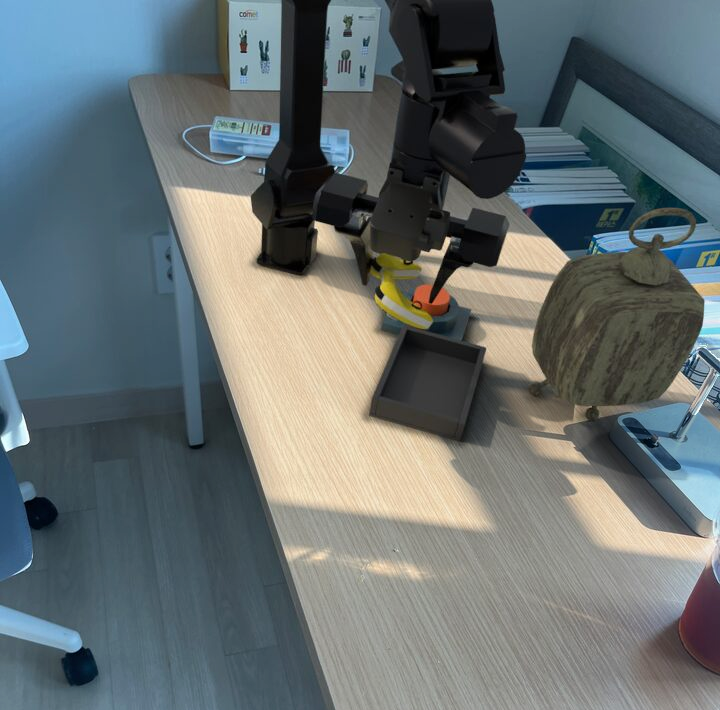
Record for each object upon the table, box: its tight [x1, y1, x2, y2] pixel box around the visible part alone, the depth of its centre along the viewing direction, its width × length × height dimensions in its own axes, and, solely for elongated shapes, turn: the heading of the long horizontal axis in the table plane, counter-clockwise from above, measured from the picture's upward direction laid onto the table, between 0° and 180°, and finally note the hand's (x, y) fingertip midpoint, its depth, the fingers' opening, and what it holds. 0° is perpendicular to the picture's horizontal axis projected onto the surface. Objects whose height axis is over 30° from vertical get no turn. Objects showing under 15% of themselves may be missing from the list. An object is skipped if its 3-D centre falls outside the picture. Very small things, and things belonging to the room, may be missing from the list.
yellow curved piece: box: [370, 253, 433, 329], centre depth 80 cm, size 10×6×4 cm, turn 4°
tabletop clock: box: [528, 207, 706, 422], centre depth 80 cm, size 14×9×25 cm, turn 102°
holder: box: [368, 325, 488, 443], centre depth 87 cm, size 10×14×3 cm
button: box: [413, 284, 451, 316], centre depth 94 cm, size 4×4×2 cm
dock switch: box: [380, 286, 472, 341], centre depth 95 cm, size 10×8×3 cm
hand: (397, 292), depth 80 cm, fingers closed on yellow curved piece, 7 cm apart
